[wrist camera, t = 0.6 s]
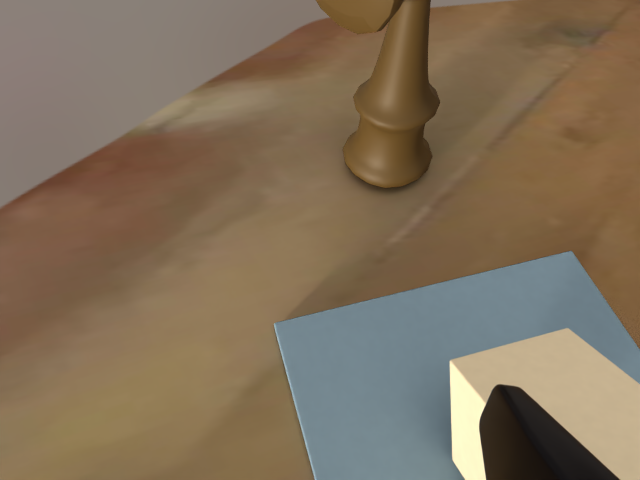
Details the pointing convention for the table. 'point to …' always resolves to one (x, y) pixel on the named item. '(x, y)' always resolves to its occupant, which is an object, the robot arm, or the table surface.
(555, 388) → the salt mill
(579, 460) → the robot arm
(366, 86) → the kendama
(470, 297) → the placemat
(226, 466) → the table surface
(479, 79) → the table surface
